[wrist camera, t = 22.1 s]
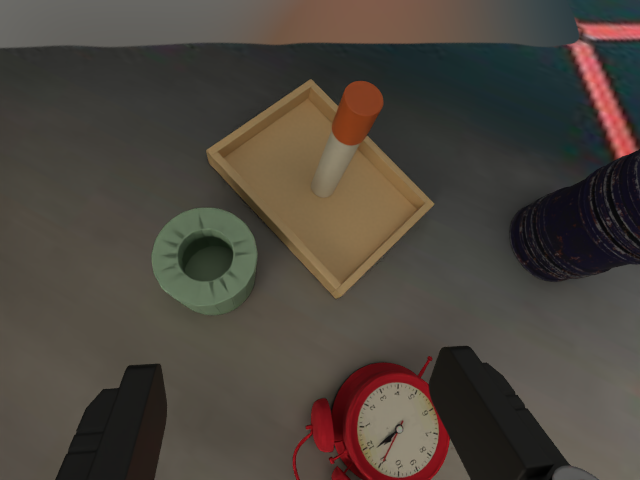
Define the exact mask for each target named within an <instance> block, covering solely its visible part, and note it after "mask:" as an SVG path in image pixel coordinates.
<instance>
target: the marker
mask: <svg viewBox="0 0 640 480" xmlns="http://www.w3.org/2000/svg"><path fill="white" fill-rule="evenodd" d="M382 107H383V97H382V94H381V92H380V91H379V90H378V88H377V87H375V86H374V85H373V84H371V83H369V82H365V81H355V82H353V83H351V84H349V85H348V86H347V87H346V89H345V91H344V93H343V96H342V99H341V101H340V104H339V107H338V109H337V112H336V115H335V117H334V120H333V123H332V130H331V133H330V136H329V138H328V141H327V143H326V146H325V149H324V151H323V154H322V157H321V159H320V162H319V164H318V167H317V170H316V172H315V175H314V177H313V180H312V183H311V189H312V191H313V193H314V194H315V195H317V196H319V197H322V198H325V197H329V196H330V195H332V194H333V192H334V190H335V188H336V187H337V185H338V183H339V181H340V179H341V177H342V176H343V174H344V172H345V170H346V168H347V166H348V165H349V163H350V161H351V159H352V157H353V156H354V154H355V152H356V150H357V148H358V146H359V145H360V143H361V142H363V141H364V139H365V138H366V136H367V134H368V132H369V130H370V129H371V127H372V125H373V123H374V121H375V120H376V118H377V116H378V114H379V113H380V111H381V109H382Z"/></svg>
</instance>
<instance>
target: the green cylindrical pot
mask: <svg viewBox="0 0 640 480" xmlns="http://www.w3.org/2000/svg"><path fill="white" fill-rule="evenodd" d="M257 256H258V254H257V248H256V243H255V239H254V236H253V234H252V233H251V231H250V230H249V228H248V227H247V225H246V224H245V223H244V222H243V221H242V220H240V219H239V218H238V217H236V216H235V215H234V214H232V213H230V212H227V211H224V210H221V209H218V208H195V209H192V210H189V211H186V212H183V213H181V214H179V215H178V216H176V217H175V218H173V219H172V220H171V221H169V222H168V223H167V224H166V225H165V226H164V228H163V229H162V230H161V232H160V233H159V235H158V236H157V238H156V239H155V243H154V247H153V251H152V255H151V258H152V265H153V273H154V275H155V277H156V279H157V280H158V282H159V284H160V285H161V287H162V288H163V290H164V291H166V292H167V293H168V294H169V295H171V296H172V297H173V298H175V299H176V300H177V301H179V302H180V303H182V304H183V305H185V306H186V307H188V308H190V309H191V310H193V311H195V312H198V313H201V314H205V315H220V314H225V313H228V312H230V311H232V310H234V309H236V308H237V307H239V306H240V305H241V304H242V303H243V302H244V301H245V300H246V299H247V298H248V296H249V295H250V293H251V291H252V289H253V286H254V281H255V275H256V266H257Z"/></svg>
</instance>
